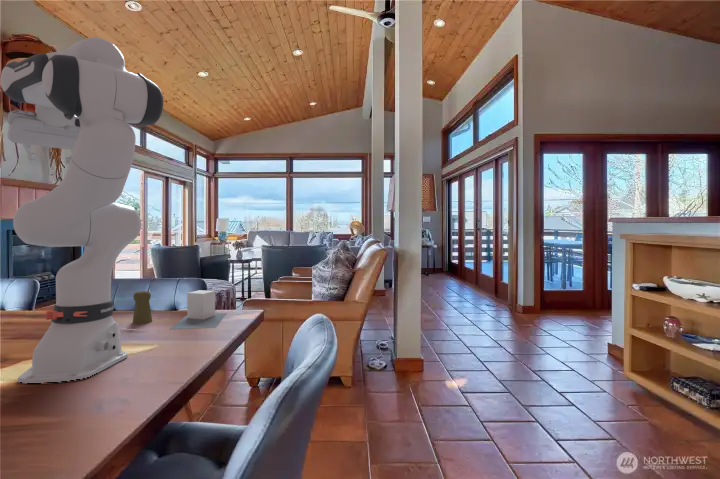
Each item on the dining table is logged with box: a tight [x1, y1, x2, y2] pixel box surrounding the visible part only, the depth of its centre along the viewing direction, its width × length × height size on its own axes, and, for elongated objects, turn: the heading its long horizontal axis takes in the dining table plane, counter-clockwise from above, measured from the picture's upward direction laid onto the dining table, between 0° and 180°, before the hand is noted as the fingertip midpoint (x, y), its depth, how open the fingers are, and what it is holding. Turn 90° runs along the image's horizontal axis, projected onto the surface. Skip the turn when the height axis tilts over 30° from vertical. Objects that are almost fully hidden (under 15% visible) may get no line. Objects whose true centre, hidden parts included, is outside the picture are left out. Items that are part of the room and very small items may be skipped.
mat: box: [169, 312, 228, 330], centre depth 138 cm, size 22×14×1 cm, turn 10°
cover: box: [186, 289, 216, 319], centre depth 143 cm, size 7×7×9 cm
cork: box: [132, 290, 153, 325], centre depth 135 cm, size 6×6×11 cm
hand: (50, 161), depth 122 cm, fingers open, 8 cm apart
